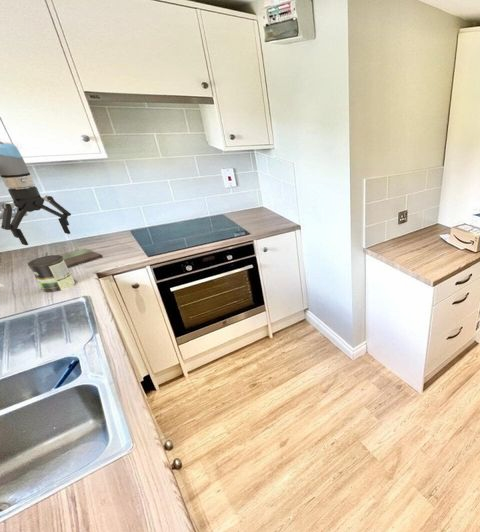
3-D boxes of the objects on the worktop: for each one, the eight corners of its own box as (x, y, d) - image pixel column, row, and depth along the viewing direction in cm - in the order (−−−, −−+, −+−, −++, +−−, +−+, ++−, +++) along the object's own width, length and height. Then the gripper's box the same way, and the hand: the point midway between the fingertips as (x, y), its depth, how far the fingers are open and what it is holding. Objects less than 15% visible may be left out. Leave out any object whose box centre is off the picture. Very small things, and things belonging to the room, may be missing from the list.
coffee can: (45, 298, 133) (29, 268, 127) (42, 289, 139) (26, 260, 132) (78, 288, 140) (64, 259, 134) (74, 280, 146) (60, 252, 139)
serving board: (52, 273, 151) (51, 270, 151) (36, 265, 157) (35, 262, 157) (102, 257, 168) (101, 254, 167) (86, 250, 174) (85, 248, 173)
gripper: (-21, 195, 111) (10, 251, 120) (67, 182, 132) (88, 230, 141) (-32, 193, 113) (-1, 248, 123) (56, 180, 134) (78, 227, 144)
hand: (47, 238), depth 132 cm, fingers open, 13 cm apart
